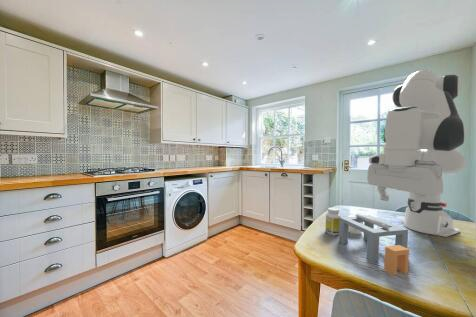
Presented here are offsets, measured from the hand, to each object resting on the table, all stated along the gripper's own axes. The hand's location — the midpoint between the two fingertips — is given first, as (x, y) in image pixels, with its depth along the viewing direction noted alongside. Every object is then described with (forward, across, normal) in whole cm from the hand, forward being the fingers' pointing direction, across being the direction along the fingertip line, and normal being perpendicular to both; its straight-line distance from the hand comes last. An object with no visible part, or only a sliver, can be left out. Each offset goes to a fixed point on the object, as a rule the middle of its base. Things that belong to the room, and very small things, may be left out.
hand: (398, 204), depth 62 cm
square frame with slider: (+21, +14, -5) cm, 26 cm away
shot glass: (+21, +29, -12) cm, 38 cm away
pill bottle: (+22, +30, -1) cm, 37 cm away
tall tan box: (+21, 0, 0) cm, 21 cm away
